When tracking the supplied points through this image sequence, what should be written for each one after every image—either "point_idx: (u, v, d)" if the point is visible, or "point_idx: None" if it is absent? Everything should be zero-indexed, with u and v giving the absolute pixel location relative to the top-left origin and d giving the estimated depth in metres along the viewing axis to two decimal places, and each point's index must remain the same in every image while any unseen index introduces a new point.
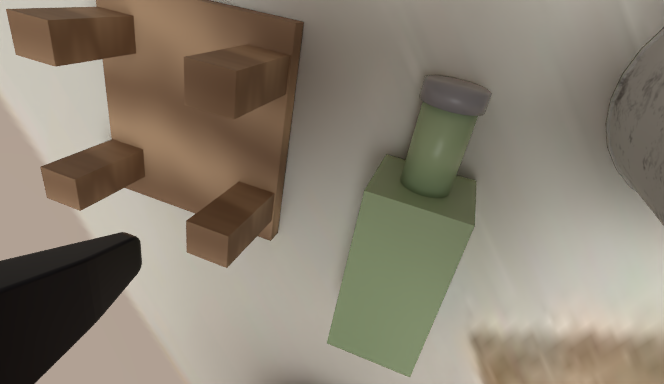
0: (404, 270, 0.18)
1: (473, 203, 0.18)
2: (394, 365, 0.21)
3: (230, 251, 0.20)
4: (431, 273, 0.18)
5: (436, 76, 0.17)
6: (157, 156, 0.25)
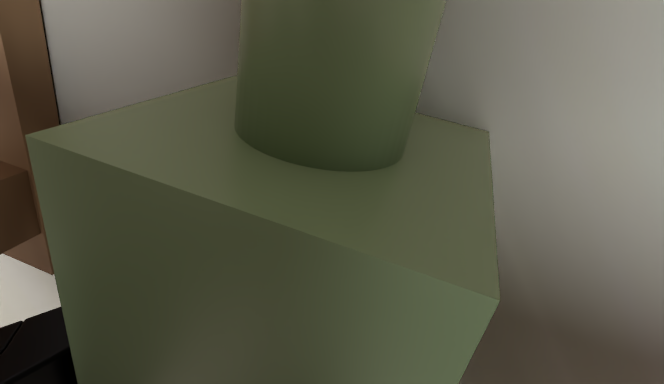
0: None
1: (485, 192, 0.05)
2: None
3: None
4: None
5: None
6: None
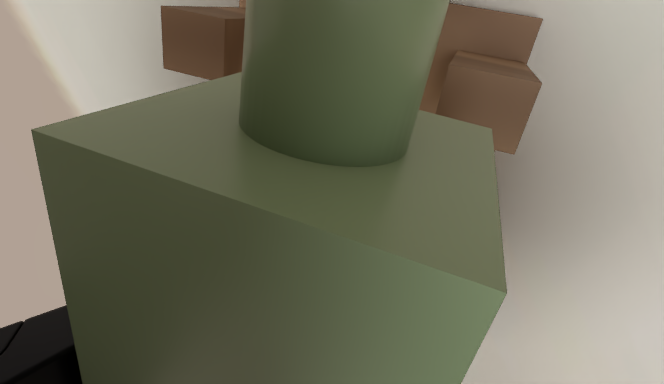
0: None
1: (490, 188, 0.05)
2: None
3: None
4: None
5: None
6: None
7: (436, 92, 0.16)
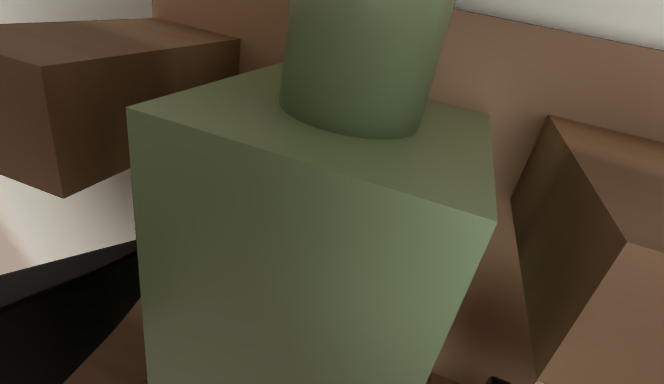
0: (283, 357, 0.06)
1: (486, 157, 0.06)
2: None
3: None
4: (358, 372, 0.06)
5: None
6: None
7: (496, 184, 0.09)
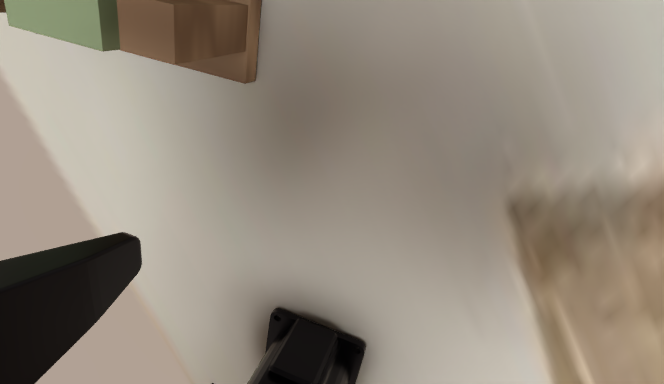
0: None
1: None
2: (81, 34, 0.15)
3: (178, 37, 0.14)
4: None
5: None
6: None
7: None
